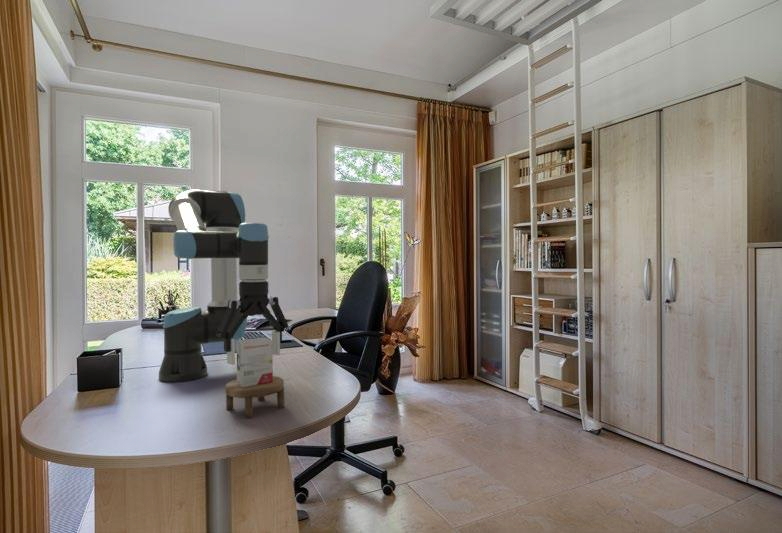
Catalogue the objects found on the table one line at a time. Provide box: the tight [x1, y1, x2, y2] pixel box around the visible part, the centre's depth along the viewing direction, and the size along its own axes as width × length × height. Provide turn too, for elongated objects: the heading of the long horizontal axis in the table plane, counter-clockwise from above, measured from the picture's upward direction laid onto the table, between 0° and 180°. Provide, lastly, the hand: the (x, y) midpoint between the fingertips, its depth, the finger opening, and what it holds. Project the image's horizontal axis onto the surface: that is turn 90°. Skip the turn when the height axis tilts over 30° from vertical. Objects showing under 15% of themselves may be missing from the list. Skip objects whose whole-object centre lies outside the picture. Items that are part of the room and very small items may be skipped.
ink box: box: [235, 336, 274, 388], centre depth 116 cm, size 9×5×12 cm, turn 124°
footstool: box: [225, 375, 285, 419], centre depth 116 cm, size 15×15×7 cm
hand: (254, 358), depth 116 cm, fingers open, 13 cm apart
